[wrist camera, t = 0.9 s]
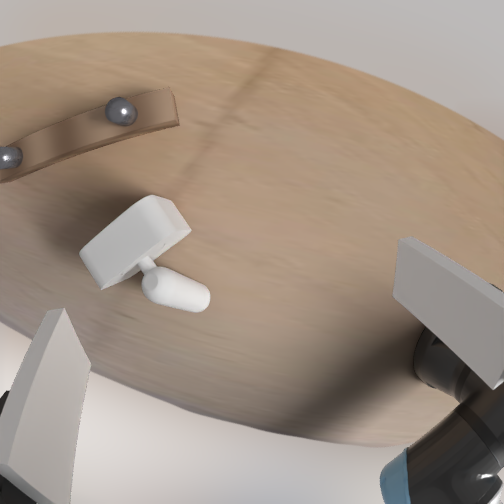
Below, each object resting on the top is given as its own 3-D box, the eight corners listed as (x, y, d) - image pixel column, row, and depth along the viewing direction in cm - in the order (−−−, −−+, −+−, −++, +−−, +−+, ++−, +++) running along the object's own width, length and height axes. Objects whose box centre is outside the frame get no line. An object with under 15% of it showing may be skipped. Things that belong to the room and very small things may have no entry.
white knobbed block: (175, 327, 33) (147, 364, 23) (120, 248, 32) (72, 256, 22) (236, 285, 32) (230, 310, 22) (178, 202, 32) (147, 192, 22)
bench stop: (174, 96, 27) (164, 77, 20) (179, 125, 28) (171, 114, 21) (6, 156, 25) (-32, 158, 19) (10, 181, 26) (-27, 188, 20)
